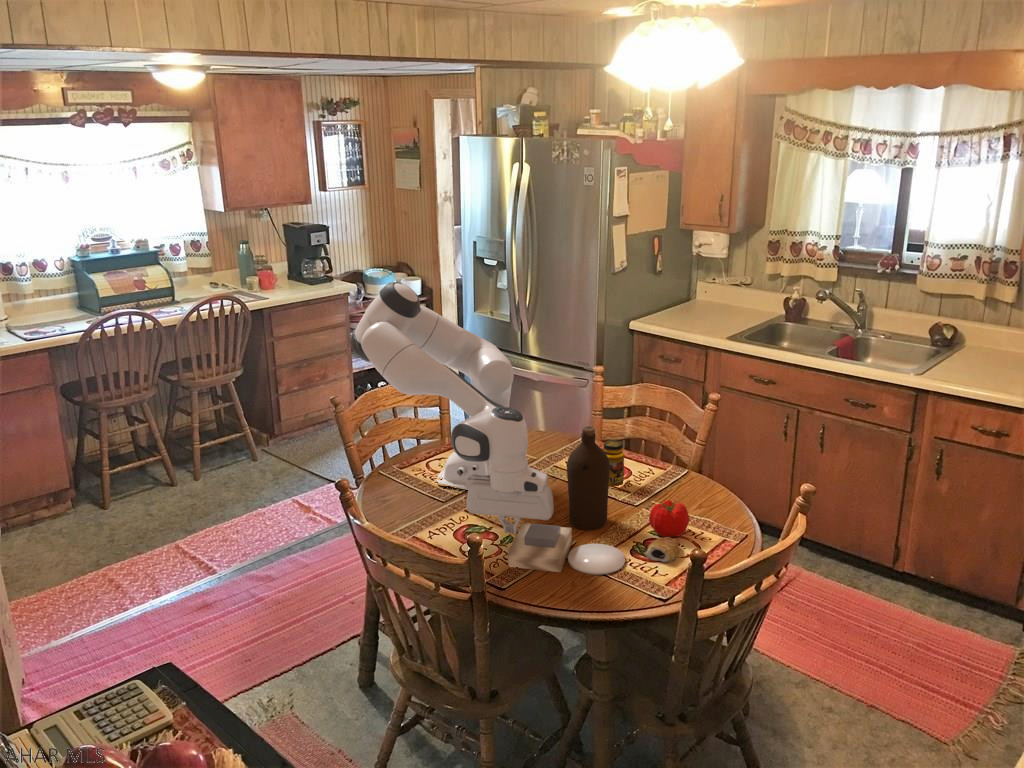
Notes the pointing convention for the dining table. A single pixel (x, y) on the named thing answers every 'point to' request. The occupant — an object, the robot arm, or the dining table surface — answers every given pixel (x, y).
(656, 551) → the pastry
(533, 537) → the grey rounded eraser
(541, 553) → the beige flat square block
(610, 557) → the plate
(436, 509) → the dining table surface
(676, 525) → the tomato
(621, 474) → the condiment
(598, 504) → the olive oil
